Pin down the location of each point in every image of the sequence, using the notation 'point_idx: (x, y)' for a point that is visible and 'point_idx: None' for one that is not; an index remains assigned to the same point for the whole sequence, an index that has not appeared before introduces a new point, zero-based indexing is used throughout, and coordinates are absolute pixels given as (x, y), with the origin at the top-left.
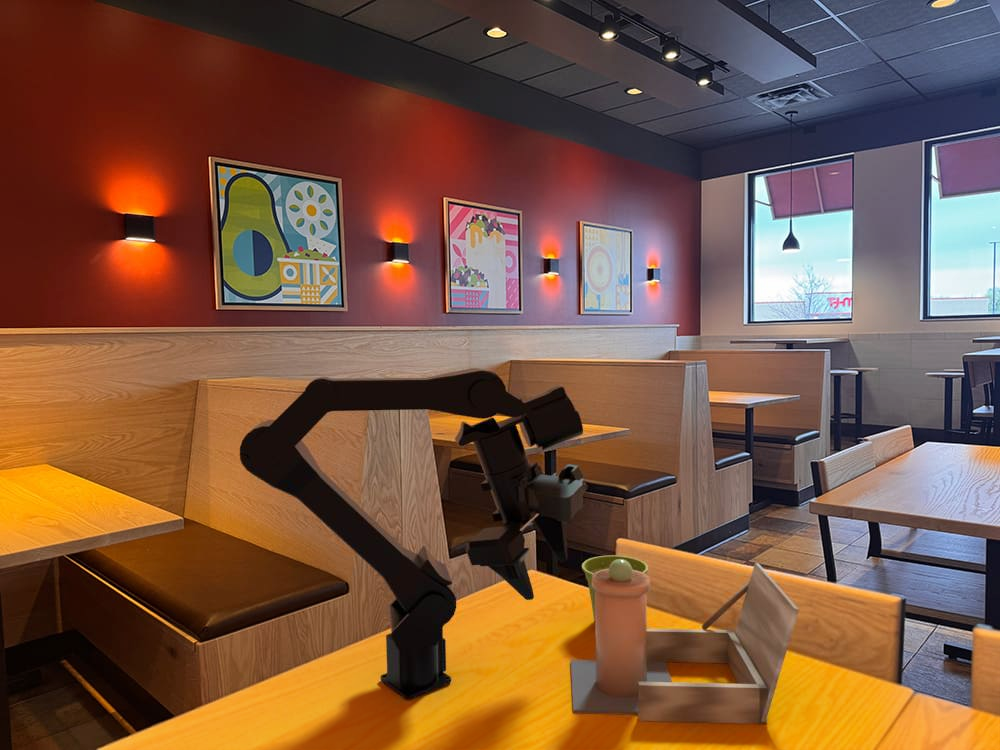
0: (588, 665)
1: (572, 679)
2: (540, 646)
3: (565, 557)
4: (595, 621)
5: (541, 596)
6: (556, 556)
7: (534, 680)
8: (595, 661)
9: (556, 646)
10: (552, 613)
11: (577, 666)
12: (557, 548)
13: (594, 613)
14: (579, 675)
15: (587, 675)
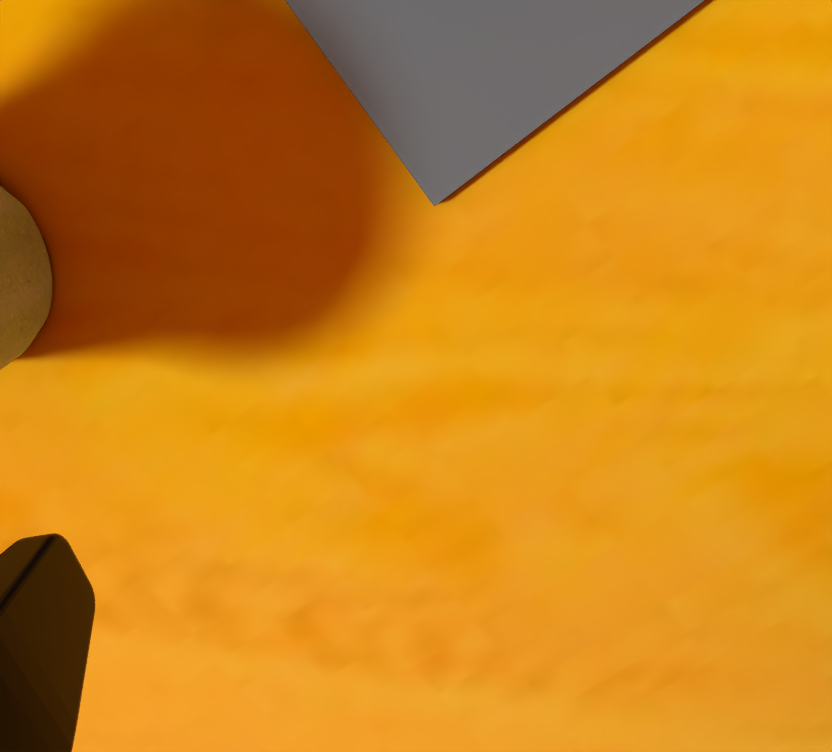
0: (426, 86)
1: (623, 56)
2: (397, 425)
3: (42, 557)
4: (34, 332)
5: None
6: (84, 666)
7: (731, 240)
8: (363, 82)
9: (345, 362)
10: (97, 559)
11: (477, 127)
12: (19, 729)
13: (9, 348)
14: (559, 51)
15: (530, 14)
